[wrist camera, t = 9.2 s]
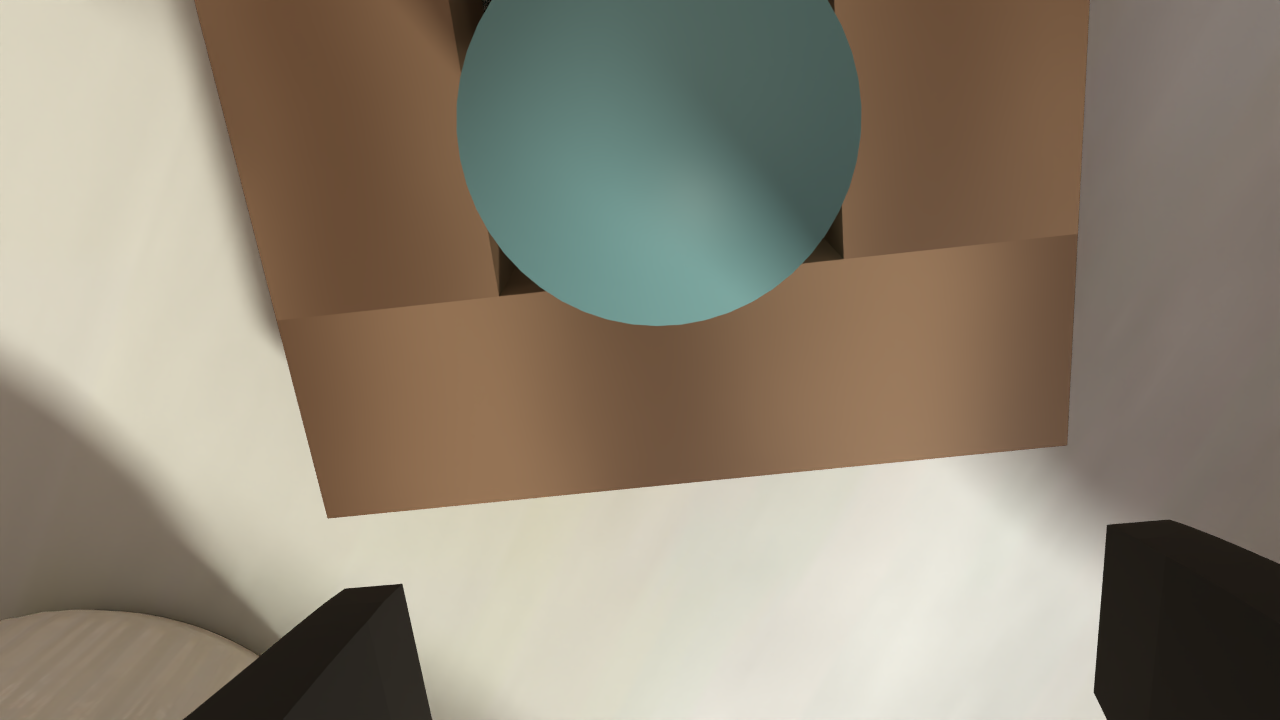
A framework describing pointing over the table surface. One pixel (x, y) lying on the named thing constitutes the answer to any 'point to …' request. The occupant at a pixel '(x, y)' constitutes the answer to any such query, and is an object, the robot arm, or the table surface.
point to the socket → (641, 354)
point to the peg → (658, 147)
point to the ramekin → (110, 666)
